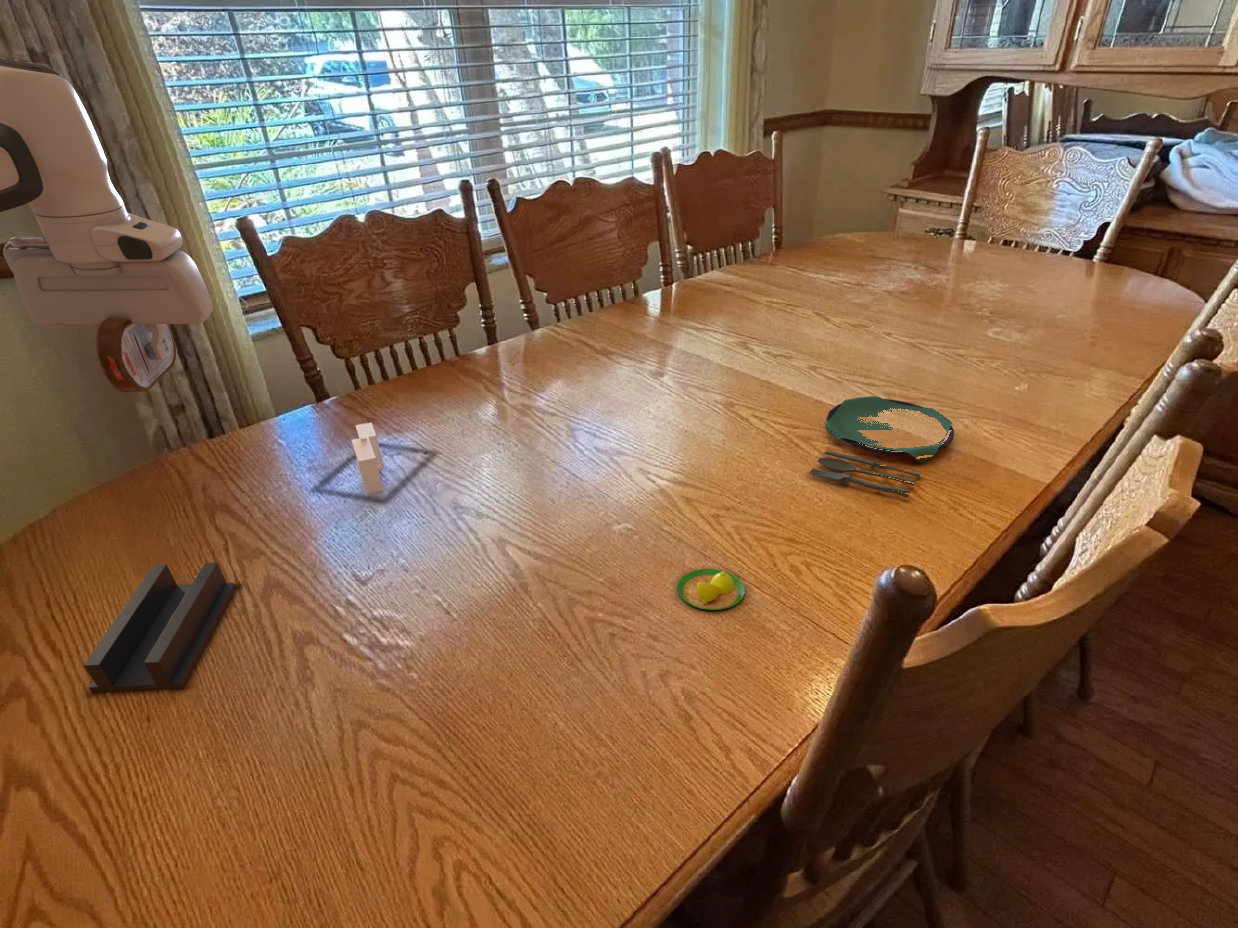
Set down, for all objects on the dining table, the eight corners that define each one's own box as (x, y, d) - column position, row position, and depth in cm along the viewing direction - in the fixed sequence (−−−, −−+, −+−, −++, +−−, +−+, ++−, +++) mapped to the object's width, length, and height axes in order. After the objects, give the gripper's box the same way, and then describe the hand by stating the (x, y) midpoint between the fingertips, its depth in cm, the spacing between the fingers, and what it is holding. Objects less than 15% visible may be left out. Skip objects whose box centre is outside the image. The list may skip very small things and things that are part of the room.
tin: (165, 359, 101) (135, 293, 96) (188, 357, 102) (160, 292, 96) (116, 404, 90) (80, 333, 85) (143, 402, 90) (108, 331, 85)
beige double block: (386, 503, 103) (376, 466, 99) (314, 492, 105) (302, 455, 102) (435, 454, 114) (428, 419, 110) (369, 445, 116) (360, 410, 112)
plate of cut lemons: (734, 620, 85) (737, 601, 83) (668, 604, 87) (669, 585, 85) (751, 581, 90) (753, 562, 88) (688, 567, 92) (689, 548, 90)
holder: (93, 694, 75) (73, 666, 73) (159, 592, 88) (145, 564, 85) (184, 690, 76) (168, 661, 73) (237, 589, 89) (225, 561, 86)
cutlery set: (962, 425, 123) (966, 411, 121) (919, 508, 103) (924, 493, 102) (845, 400, 130) (847, 387, 128) (784, 473, 110) (787, 459, 109)
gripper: (-21, 244, 81) (44, 369, 91) (172, 244, 83) (217, 366, 92) (10, 230, 86) (69, 350, 95) (193, 230, 88) (233, 348, 97)
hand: (143, 358), depth 94 cm, fingers closed on tin, 2 cm apart
